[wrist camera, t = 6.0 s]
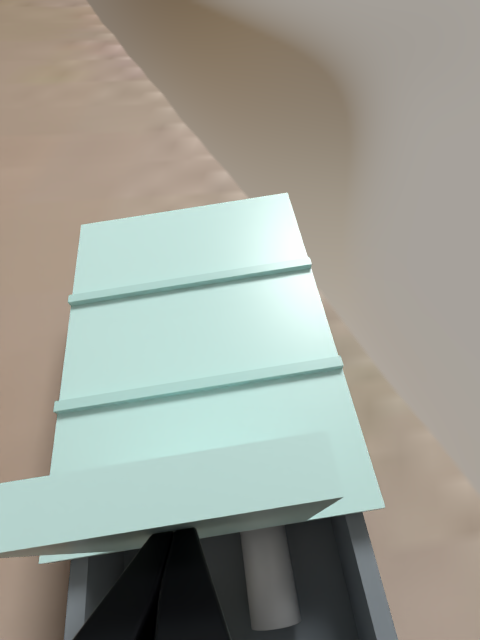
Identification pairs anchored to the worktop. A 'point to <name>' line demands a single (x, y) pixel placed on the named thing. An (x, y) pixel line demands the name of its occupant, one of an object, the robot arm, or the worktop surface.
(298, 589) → the parts tub
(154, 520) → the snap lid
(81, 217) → the worktop surface
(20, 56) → the worktop surface
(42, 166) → the worktop surface
